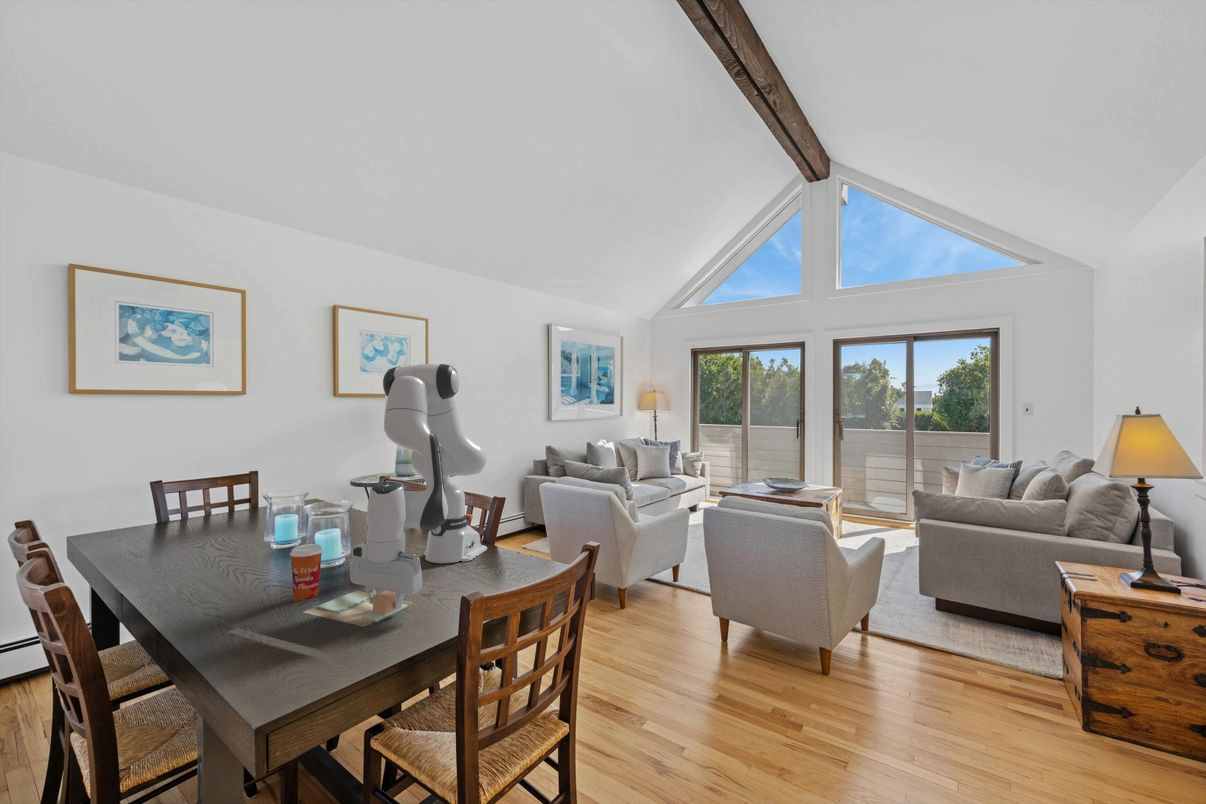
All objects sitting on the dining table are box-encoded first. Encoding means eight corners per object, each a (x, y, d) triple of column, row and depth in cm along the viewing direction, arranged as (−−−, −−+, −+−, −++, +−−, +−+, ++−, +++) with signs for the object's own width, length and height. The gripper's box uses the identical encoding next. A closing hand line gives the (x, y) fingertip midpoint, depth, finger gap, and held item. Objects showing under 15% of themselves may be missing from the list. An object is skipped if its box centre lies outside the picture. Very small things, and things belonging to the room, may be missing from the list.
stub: (392, 603, 135) (393, 586, 135) (408, 606, 133) (408, 589, 133) (361, 618, 126) (361, 599, 126) (377, 622, 124) (377, 603, 124)
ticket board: (356, 595, 144) (356, 588, 144) (413, 607, 136) (413, 600, 136) (302, 617, 129) (302, 609, 129) (363, 631, 121) (363, 623, 121)
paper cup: (285, 606, 135) (285, 552, 135) (294, 596, 143) (294, 544, 142) (318, 604, 137) (319, 550, 137) (326, 593, 145) (326, 542, 145)
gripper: (428, 551, 128) (428, 608, 128) (365, 541, 136) (365, 595, 136) (410, 558, 122) (409, 617, 122) (345, 547, 130) (344, 603, 130)
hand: (385, 605), depth 129 cm, fingers open, 6 cm apart
